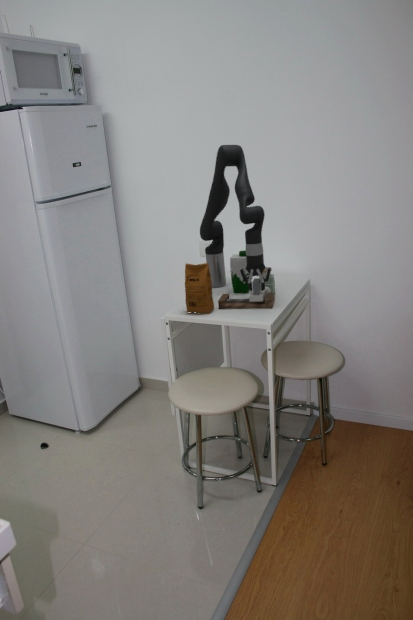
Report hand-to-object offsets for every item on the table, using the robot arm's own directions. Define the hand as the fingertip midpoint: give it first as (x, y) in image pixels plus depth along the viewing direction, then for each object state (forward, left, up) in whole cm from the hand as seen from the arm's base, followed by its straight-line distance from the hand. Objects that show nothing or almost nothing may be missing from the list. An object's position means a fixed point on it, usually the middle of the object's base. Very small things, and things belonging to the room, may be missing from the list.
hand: (257, 290), depth 223 cm
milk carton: (-11, +21, -7) cm, 25 cm away
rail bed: (-5, 0, -7) cm, 8 cm away
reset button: (+3, +12, +3) cm, 13 cm away
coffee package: (-25, -7, -7) cm, 27 cm away
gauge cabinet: (+3, +12, -7) cm, 14 cm away
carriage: (0, 0, -4) cm, 4 cm away
